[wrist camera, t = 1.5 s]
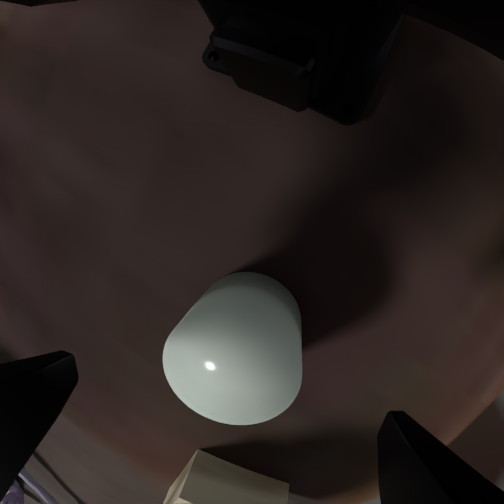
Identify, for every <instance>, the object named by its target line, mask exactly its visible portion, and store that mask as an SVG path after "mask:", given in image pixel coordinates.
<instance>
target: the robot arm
mask: <svg viewBox="0 0 504 504" xmlns="http://www.w3.org/2000/svg"><path fill="white" fill-rule="evenodd" d="M0 1H5V2H11V3H16V4H21V5H26V6H30V7H32V6H38V5H45V4H53V3H61V2H71V1H77V0H0ZM198 2H199V3H200V5H201V7H202V8H203V10H204V12H205V13H206V15H207V17H208V18H209V20H210V22H211V24H212V25H213V27H214V30H213V32H212V33H211V35H210V42H209V44H208V46H207V48H206V49H205V51H204V53H203V56H202V59H203V62H204V63H205V65H206V66H207V67H208V68H209V69H211V70H214V71H217V72H220V73H223V74H226V75H229V76H232V78H233V80H234V81H235V83H236V84H237V86H238V87H239V88H241V89H244V90H247V91H249V92H252V93H254V94H257V95H259V96H262V97H264V98H267V99H269V100H272V101H274V102H276V103H279V104H281V105H283V106H286V107H288V108H290V109H292V110H295V111H297V112H300V111H304V110H306V109H307V107H308V108H310V109H312V110H314V111H317V112H319V113H321V114H323V115H325V116H327V117H329V118H331V119H333V120H335V121H337V122H339V123H341V124H344V125H352V124H354V123H356V122H357V121H358V120H359V118H360V117H361V115H362V113H363V111H364V109H365V106H366V104H367V102H368V100H369V98H370V95H371V93H372V91H373V89H374V86H375V84H376V82H377V80H378V77H379V75H380V73H381V71H382V68H383V66H384V64H385V62H386V59H387V57H388V55H389V52H390V50H391V48H392V45H393V43H394V41H395V38H396V36H397V33H398V31H399V29H400V26H401V24H402V21H403V19H404V17H405V14H406V15H409V16H412V17H414V18H417V19H420V20H422V21H425V22H427V23H430V24H432V25H434V26H437V27H439V28H441V29H444V30H446V31H448V32H450V33H452V34H455V35H457V36H459V37H461V38H463V39H465V40H467V41H469V42H471V43H473V44H475V45H477V46H478V47H480V48H482V49H484V50H486V51H488V52H489V53H491V54H493V55H494V56H496V57H498V58H500V59H501V60H504V0H198ZM216 54H218V56H219V57H220V59H219V60H217V61H211V58H212V57H213V56H214V55H216ZM343 107H350V108H351V109H352V111H353V116H351V117H347V116H345V115H344V114H343V113H342V108H343ZM77 382H78V371H77V367H76V362H75V357H74V356H73V354H71V353H69V352H66V351H63V350H61V351H56V352H52V353H48V354H44V355H39V356H35V357H30V358H26V359H21V360H17V361H12V362H7V363H3V364H0V503H1V501H2V500H3V498H4V497H5V495H6V493H7V492H8V490H9V489H10V487H11V486H12V484H13V482H14V481H15V479H16V478H17V476H18V475H19V473H20V472H21V470H22V469H23V467H24V466H25V464H26V463H27V461H28V460H29V458H30V457H31V455H32V454H33V452H34V451H35V449H36V448H37V446H38V445H39V444H40V442H41V441H42V439H43V438H44V436H45V435H46V433H47V432H48V431H49V429H50V428H51V426H52V425H53V424H54V422H55V421H56V419H57V418H58V416H59V414H60V413H61V411H62V409H63V407H64V405H65V404H66V402H67V400H68V398H69V397H70V395H71V393H72V391H73V390H74V388H75V386H76V385H77ZM377 445H378V478H379V491H380V499H381V504H504V491H503V490H501V489H500V488H498V487H497V486H496V485H494V484H493V483H492V482H491V481H489V480H488V479H487V478H485V479H484V476H483V475H482V474H480V473H479V472H478V471H476V470H475V469H474V468H473V467H471V466H470V465H469V464H468V463H466V462H465V461H464V460H463V459H461V458H460V457H459V456H458V455H456V454H455V453H454V452H453V451H452V450H450V449H449V448H448V447H447V446H445V445H444V444H443V443H442V442H440V441H439V440H438V439H437V438H436V437H434V436H433V435H432V434H431V433H429V432H428V431H427V430H426V429H425V428H423V427H422V426H421V425H420V424H418V423H417V422H416V421H415V420H414V419H412V418H411V417H410V416H409V415H408V414H406V413H405V412H404V411H389V412H388V413H387V415H386V417H385V419H384V421H383V424H382V426H381V428H380V430H379V432H378V437H377Z"/></svg>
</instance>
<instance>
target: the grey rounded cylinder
mask: <svg viewBox="0 0 504 504" xmlns="http://www.w3.org/2000/svg"><path fill="white" fill-rule="evenodd" d="M163 367H164V372H165V375H166V378H167V380H168V382H169V384H170V386H171V388H172V389H173V391H174V392H175V394H176V395H177V396H178V397H179V398H180V399H181V400H182V401H183V402H184V403H185V404H186V405H187V406H188V407H190V408H191V409H192V410H194V411H195V412H197V413H199V414H200V415H202V416H204V417H206V418H209V419H211V420H214V421H217V422H221V423H226V424H233V425H250V424H256V423H261V422H264V421H267V420H270V419H272V418H274V417H276V416H278V415H279V414H281V413H282V412H283V411H285V410H286V409H287V408H288V407H289V406H290V405H291V404H292V402H293V401H294V399H295V398H296V396H297V394H298V392H299V390H300V386H301V382H302V330H301V314H300V310H299V307H298V304H297V302H296V300H295V299H294V297H293V295H292V294H291V293H290V292H289V290H288V289H287V288H286V287H285V286H283V285H282V284H281V283H279V282H278V281H276V280H275V279H273V278H271V277H268V276H266V275H263V274H259V273H254V272H239V273H233V274H230V275H227V276H224V277H222V278H221V279H219V280H217V281H216V282H214V283H213V284H212V285H211V286H210V287H209V288H208V289H207V290H206V292H205V293H204V294H203V295H202V296H201V297H200V299H199V300H198V301H197V302H196V303H195V304H194V306H193V307H192V308H191V309H190V310H189V312H188V313H187V314H186V315H185V316H184V317H183V319H182V320H181V321H180V322H179V323H178V325H177V326H176V327H175V328H174V329H173V331H172V332H171V333H170V335H169V337H168V339H167V341H166V343H165V347H164V351H163Z"/></svg>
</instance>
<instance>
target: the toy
mask: <svg viewBox="0 0 504 504" xmlns="http://www.w3.org/2000/svg"><path fill="white" fill-rule="evenodd" d="M19 476H20V477H21V478H22V479H23V480H24V481H25V482H26V483H27V484H28V485H29V486H30V487H32V488H33V489H34V490H35V491H36V492H37V493H38V494H39V495H40V496H41V497H42V498H43V499H44V500H45V501H46V502H47V503H48V504H59V503H58V502H57V501H56V500H55V499H54V497H53V496H51V495H50V494H49V493H48V492H47V491H46V490H45V489H44V488H43V487H42V486H41V485H39V484H38V483H37V482H36V481H35V480H34V478H33V477H32V476H31V475H30V474H29V473H28V472H27V471H26V470H25V469H24V468H23V469H22V470H21V472H20V473H19ZM10 488H11V489H13V490H12V491H11V492H10V493H8V494H7V495H5V497H4V498H3V500H2V501H1V503H0V504H24V492H23V491H22V489H21V488H20V485H19V483H18V482H17V481H16V480H15V481H14V482H13V484H12V486H11V487H10Z"/></svg>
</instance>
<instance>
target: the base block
mask: <svg viewBox="0 0 504 504" xmlns="http://www.w3.org/2000/svg"><path fill="white" fill-rule="evenodd" d="M288 494H289V483H286V482H283V481H280V480H276V479H273V478H270V477H267V476H264V475H261V474H259V473H256V472H253V471H250V470H248V469H245V468H242V467H240V466H237V465H234V464H232V463H229V462H227V461H225V460H222V459H220V458H217V457H215V456H213V455H210V454H208V453H206V452H204V451H202V450H199V449H198V450H197V451H196V453H195V454H194V456H193V457H192V458H191V460H190V461H189V463H188V464H187V465H186V467H185V468H184V470H183V471H182V472H181V474H180V475H179V476H178V478H177V479H176V480H175V482H174V483H173V484H172V486H171V487H170V489H169V491H168V494H167V496H166V498H165V500H164V502H163V504H288Z"/></svg>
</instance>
